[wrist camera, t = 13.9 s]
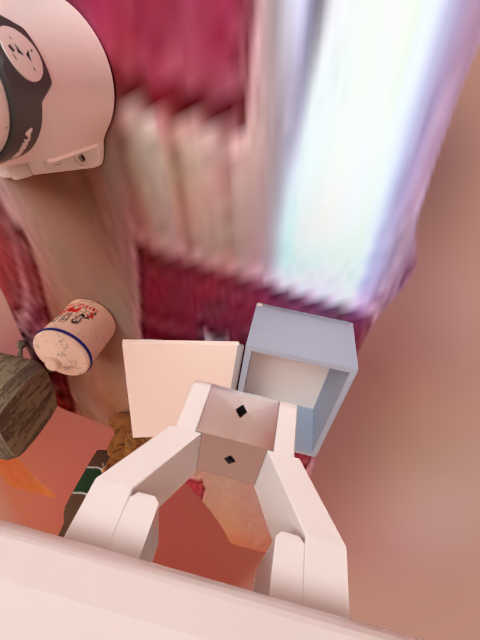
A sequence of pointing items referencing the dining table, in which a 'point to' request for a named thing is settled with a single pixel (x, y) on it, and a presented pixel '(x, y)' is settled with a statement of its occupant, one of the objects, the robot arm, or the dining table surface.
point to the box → (300, 367)
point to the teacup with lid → (75, 337)
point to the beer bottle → (83, 488)
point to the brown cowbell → (23, 402)
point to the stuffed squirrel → (122, 440)
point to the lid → (173, 377)
